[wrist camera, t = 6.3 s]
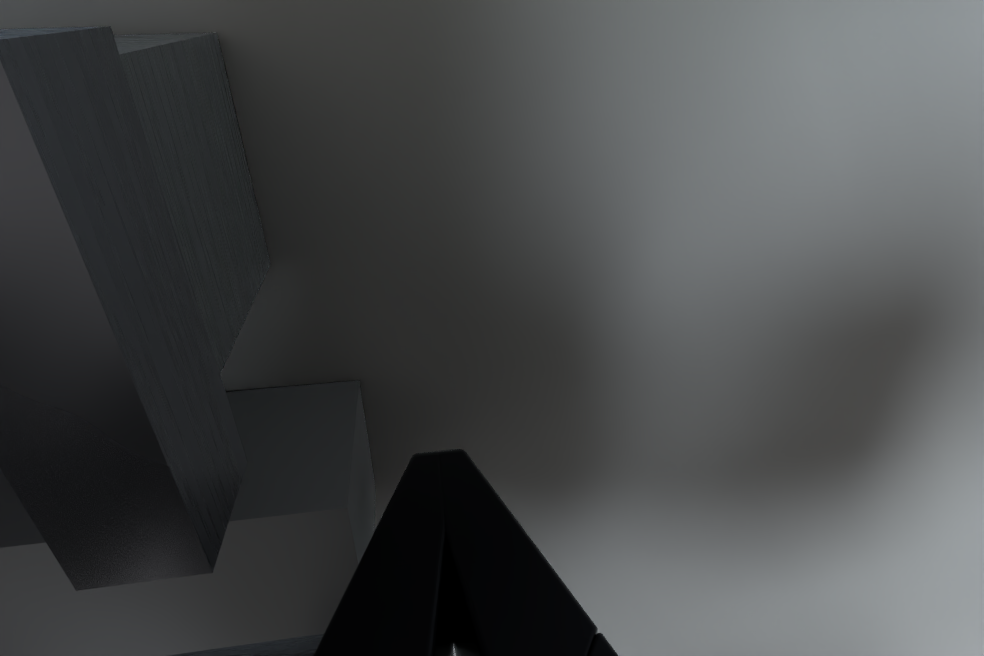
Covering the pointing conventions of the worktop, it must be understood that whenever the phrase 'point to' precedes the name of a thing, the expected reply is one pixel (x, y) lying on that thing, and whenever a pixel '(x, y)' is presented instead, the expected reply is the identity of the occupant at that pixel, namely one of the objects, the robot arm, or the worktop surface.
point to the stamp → (244, 551)
